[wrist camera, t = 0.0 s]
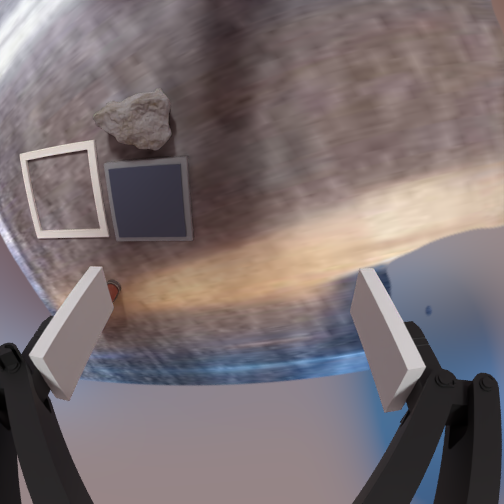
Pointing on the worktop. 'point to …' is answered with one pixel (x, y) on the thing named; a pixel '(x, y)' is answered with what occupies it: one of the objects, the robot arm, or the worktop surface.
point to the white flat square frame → (95, 183)
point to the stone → (138, 120)
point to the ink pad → (150, 199)
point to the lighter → (113, 289)
